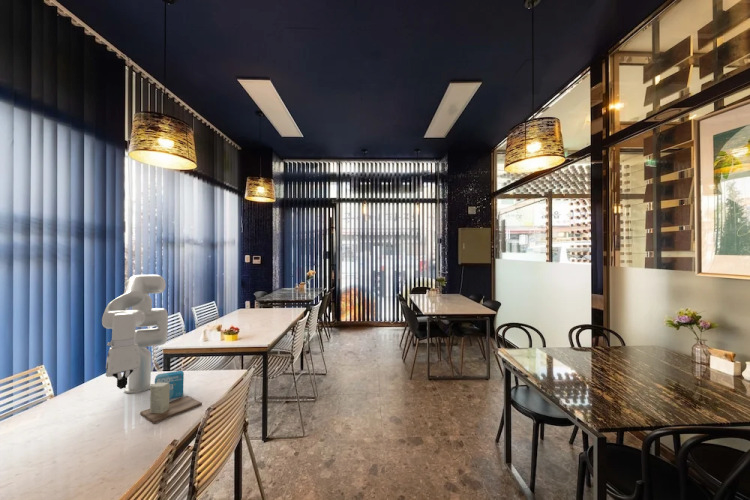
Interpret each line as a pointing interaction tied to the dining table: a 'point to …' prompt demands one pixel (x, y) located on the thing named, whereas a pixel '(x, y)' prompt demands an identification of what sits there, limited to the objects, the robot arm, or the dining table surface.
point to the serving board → (172, 409)
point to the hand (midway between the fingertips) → (122, 387)
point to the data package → (172, 382)
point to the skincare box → (159, 397)
